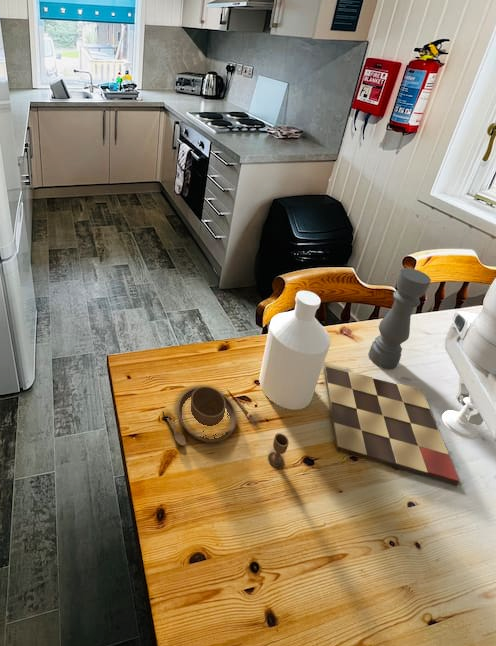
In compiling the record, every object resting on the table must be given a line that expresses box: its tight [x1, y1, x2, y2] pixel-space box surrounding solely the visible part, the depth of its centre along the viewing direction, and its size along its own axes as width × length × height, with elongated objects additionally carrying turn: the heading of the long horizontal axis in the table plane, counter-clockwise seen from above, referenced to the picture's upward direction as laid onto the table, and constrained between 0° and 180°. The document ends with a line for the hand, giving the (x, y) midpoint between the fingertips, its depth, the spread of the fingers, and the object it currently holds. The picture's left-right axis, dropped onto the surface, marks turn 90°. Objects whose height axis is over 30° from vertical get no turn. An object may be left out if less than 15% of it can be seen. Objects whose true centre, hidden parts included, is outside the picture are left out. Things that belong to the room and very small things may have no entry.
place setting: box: [165, 386, 290, 469], centre depth 77 cm, size 18×20×6 cm
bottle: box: [258, 290, 331, 411], centre depth 84 cm, size 12×12×25 cm
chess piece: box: [441, 394, 479, 440], centre depth 67 cm, size 5×5×10 cm
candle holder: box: [368, 267, 432, 371], centre depth 92 cm, size 6×6×25 cm
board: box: [323, 366, 460, 487], centre depth 82 cm, size 20×20×1 cm
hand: (467, 411), depth 67 cm, fingers closed on chess piece
